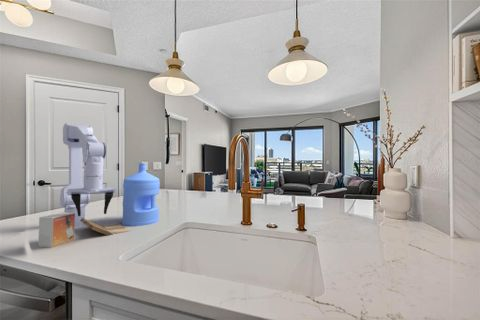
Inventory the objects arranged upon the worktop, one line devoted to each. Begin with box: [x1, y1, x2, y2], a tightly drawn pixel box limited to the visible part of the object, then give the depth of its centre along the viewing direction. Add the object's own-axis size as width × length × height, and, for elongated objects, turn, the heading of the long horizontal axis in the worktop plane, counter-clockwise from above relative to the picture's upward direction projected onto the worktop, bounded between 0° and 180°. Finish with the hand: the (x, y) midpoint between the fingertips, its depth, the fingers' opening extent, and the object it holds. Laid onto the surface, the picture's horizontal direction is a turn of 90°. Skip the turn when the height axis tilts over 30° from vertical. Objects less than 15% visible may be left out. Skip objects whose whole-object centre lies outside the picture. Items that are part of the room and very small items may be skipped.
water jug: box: [121, 162, 161, 227], centre depth 107 cm, size 16×16×28 cm
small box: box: [37, 211, 75, 249], centre depth 77 cm, size 8×6×10 cm
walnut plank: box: [80, 218, 114, 236], centre depth 90 cm, size 16×8×1 cm
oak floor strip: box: [101, 222, 132, 235], centre depth 95 cm, size 16×6×1 cm, turn 46°
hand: (92, 214), depth 81 cm, fingers open, 7 cm apart
